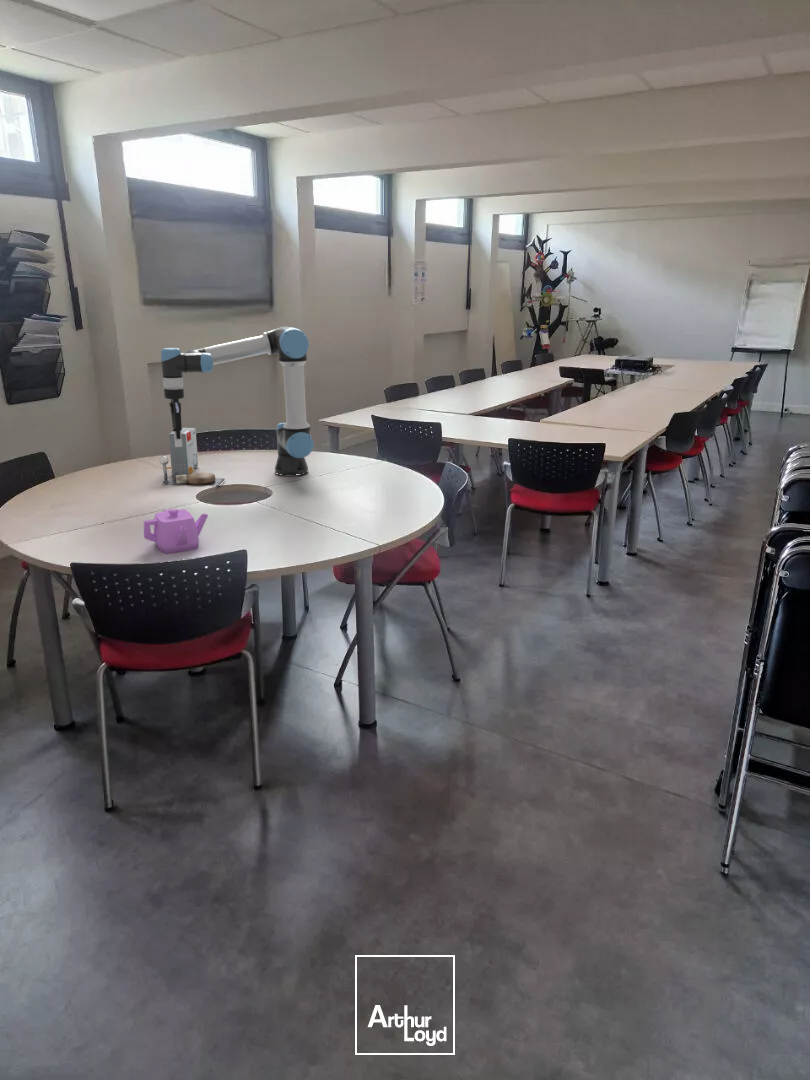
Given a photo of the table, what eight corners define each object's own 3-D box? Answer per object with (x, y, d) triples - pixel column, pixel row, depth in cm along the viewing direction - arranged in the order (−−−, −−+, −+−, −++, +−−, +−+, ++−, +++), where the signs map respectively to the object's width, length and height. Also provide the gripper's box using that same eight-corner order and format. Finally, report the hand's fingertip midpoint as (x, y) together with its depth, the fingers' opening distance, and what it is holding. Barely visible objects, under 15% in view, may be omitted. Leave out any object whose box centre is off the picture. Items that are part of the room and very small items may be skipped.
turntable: (212, 476, 310) (212, 469, 308) (217, 482, 299) (217, 475, 298) (174, 479, 303) (174, 472, 302) (178, 486, 293) (177, 479, 292)
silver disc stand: (161, 482, 299) (159, 457, 296) (161, 481, 301) (159, 456, 298) (174, 481, 301) (171, 456, 297) (174, 480, 303) (171, 455, 299)
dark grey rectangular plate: (224, 481, 308) (224, 478, 308) (217, 488, 297) (217, 485, 296) (171, 480, 308) (170, 477, 308) (161, 487, 297) (161, 484, 297)
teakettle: (167, 535, 242) (164, 500, 238) (213, 539, 238) (210, 504, 234) (139, 552, 227) (134, 515, 222) (187, 557, 223) (183, 519, 219)
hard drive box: (189, 478, 312) (184, 434, 305) (171, 478, 312) (167, 433, 305) (199, 470, 326) (195, 427, 320) (183, 469, 327) (178, 427, 320)
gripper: (161, 386, 285) (167, 444, 293) (166, 390, 274) (171, 450, 282) (180, 385, 288) (185, 442, 296) (186, 389, 277) (190, 449, 285)
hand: (178, 446), depth 289 cm, fingers closed
